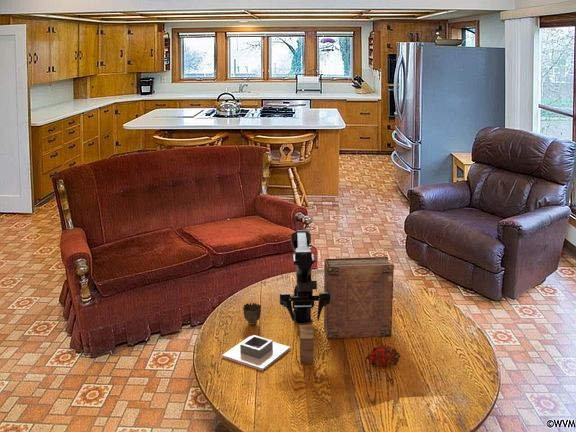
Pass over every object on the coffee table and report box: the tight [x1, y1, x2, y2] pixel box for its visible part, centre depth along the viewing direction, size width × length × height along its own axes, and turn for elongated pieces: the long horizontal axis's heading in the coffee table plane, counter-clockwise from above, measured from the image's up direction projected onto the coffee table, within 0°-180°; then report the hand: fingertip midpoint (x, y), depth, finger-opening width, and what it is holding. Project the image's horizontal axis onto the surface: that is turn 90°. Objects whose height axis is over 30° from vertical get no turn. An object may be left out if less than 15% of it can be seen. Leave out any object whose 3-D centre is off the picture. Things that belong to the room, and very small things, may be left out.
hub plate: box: [222, 334, 291, 372], centre depth 217 cm, size 18×18×4 cm
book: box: [323, 255, 395, 340], centre depth 229 cm, size 25×9×30 cm, turn 95°
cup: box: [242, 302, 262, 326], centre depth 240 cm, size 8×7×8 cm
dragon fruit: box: [365, 344, 401, 370], centre depth 207 cm, size 8×8×12 cm
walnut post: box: [299, 324, 314, 365], centre depth 211 cm, size 5×5×13 cm
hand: (305, 320), depth 215 cm, fingers open, 9 cm apart
